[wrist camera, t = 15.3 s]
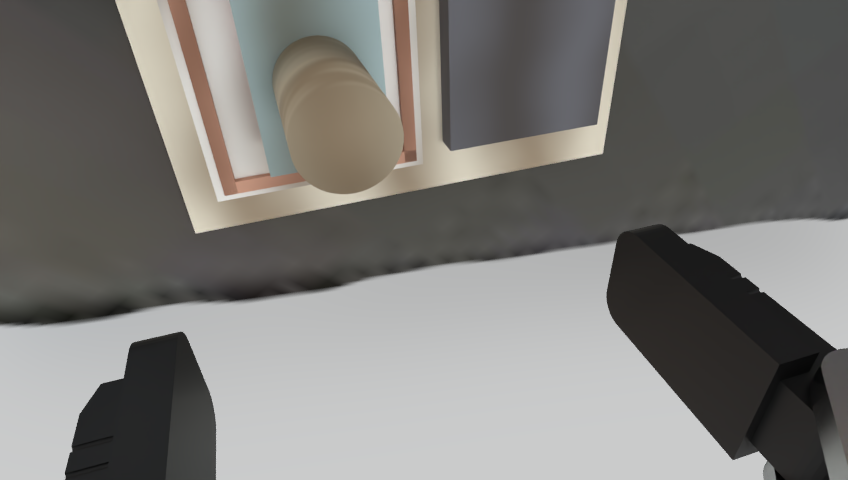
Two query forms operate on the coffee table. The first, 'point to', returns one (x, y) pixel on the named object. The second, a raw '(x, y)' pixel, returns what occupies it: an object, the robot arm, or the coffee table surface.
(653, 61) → the coffee table surface
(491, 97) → the stamping board
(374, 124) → the rubber stamp
